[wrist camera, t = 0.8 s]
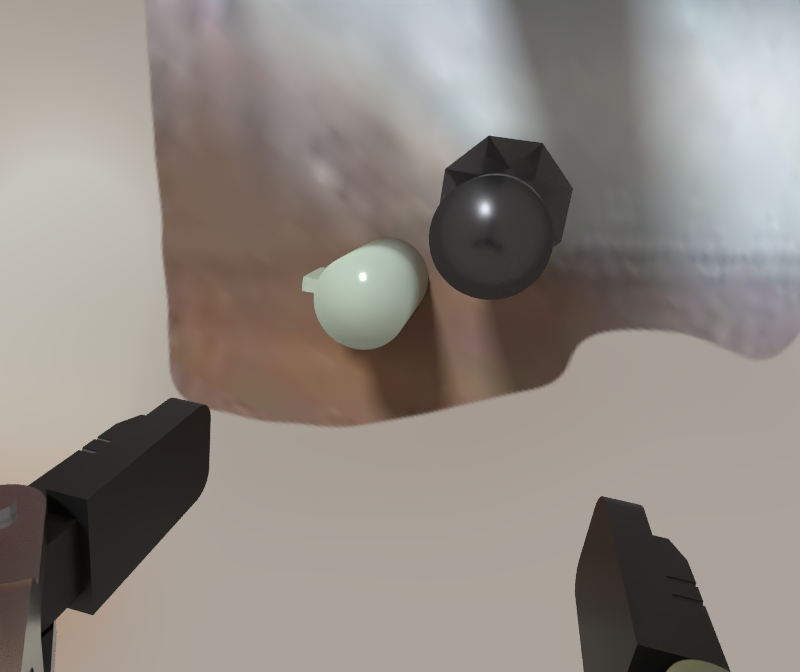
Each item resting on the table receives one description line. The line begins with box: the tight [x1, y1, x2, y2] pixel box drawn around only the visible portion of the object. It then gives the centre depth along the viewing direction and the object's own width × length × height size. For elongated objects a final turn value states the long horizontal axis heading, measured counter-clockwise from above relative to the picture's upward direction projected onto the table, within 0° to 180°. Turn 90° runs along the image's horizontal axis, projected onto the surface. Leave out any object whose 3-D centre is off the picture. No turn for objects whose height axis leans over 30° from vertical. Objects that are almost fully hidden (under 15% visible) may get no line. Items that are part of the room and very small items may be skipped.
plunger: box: [429, 174, 553, 300], centre depth 24 cm, size 4×4×14 cm
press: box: [440, 136, 573, 247], centre depth 37 cm, size 9×7×14 cm
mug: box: [302, 238, 428, 350], centre depth 43 cm, size 6×8×9 cm
